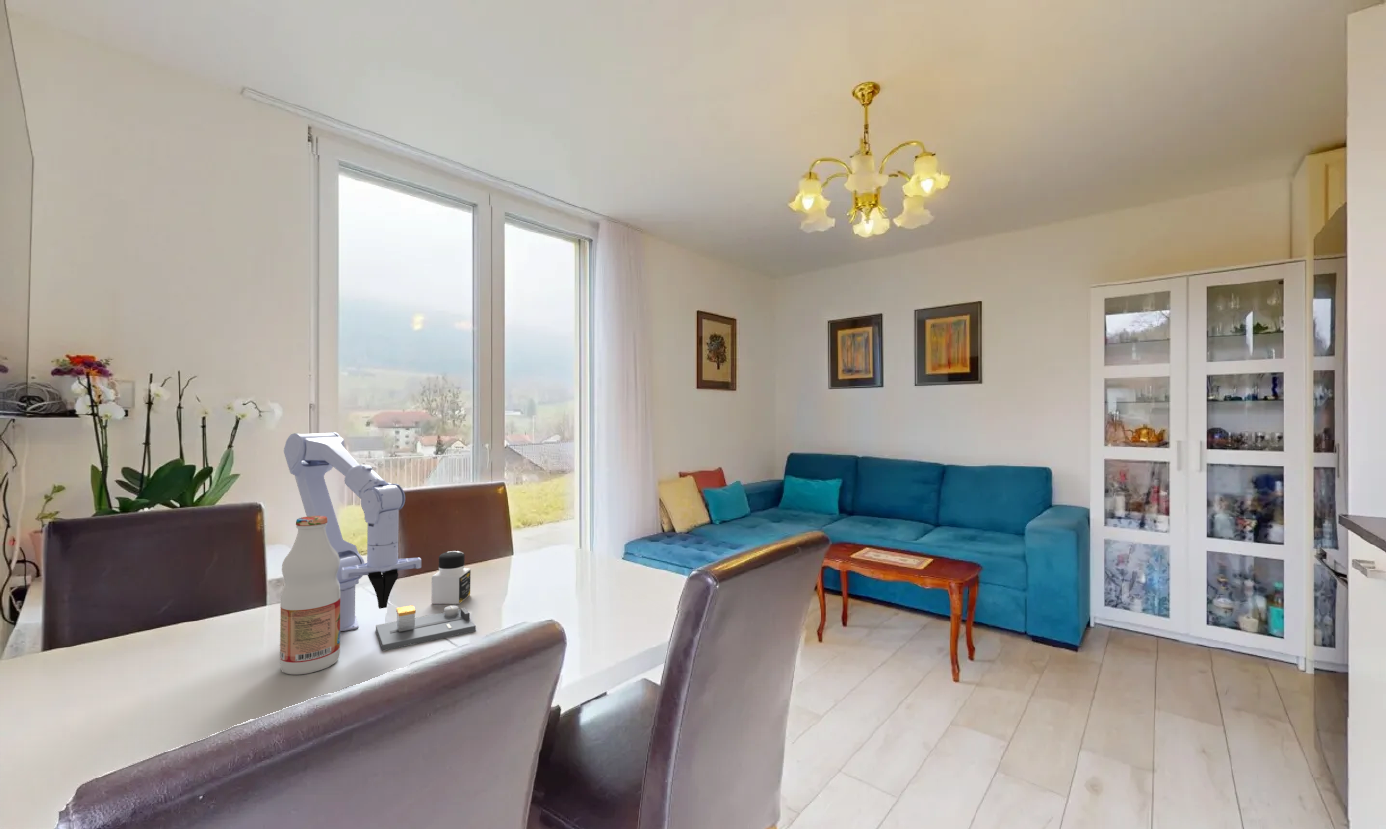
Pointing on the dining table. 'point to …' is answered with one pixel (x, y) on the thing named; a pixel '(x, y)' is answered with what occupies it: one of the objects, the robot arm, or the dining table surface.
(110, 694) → the dining table surface
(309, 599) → the fruit juice
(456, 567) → the medicine bottle
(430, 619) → the console board
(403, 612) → the fader tab
